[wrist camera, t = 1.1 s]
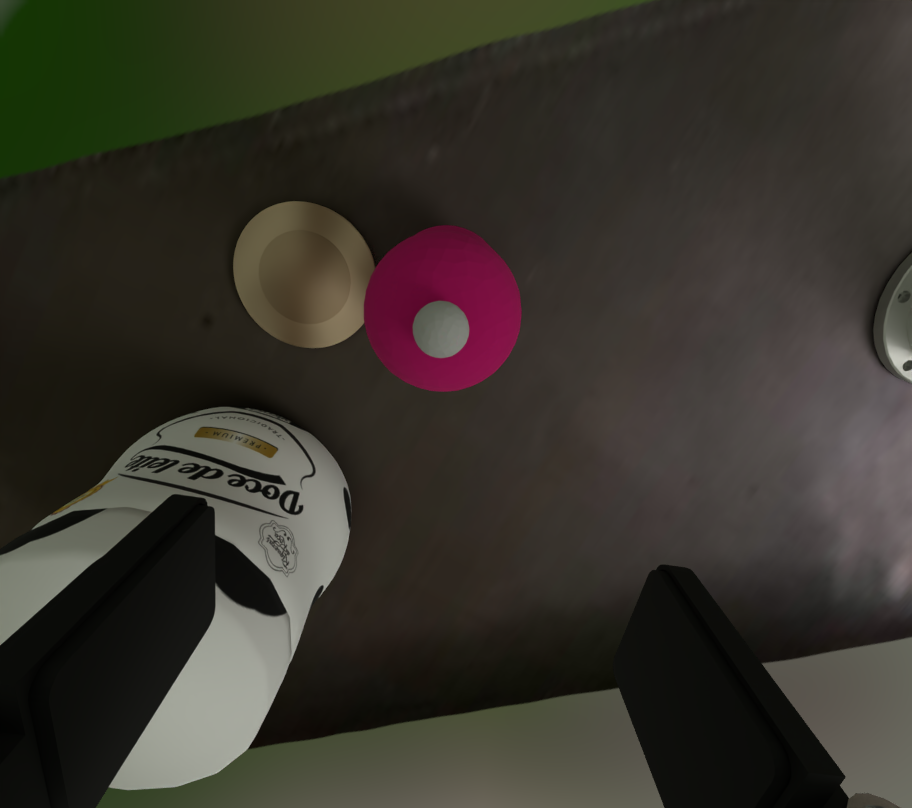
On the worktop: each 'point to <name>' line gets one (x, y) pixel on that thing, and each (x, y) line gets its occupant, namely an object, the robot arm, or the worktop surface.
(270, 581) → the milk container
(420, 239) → the pepper mill
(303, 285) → the plate
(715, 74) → the worktop surface
